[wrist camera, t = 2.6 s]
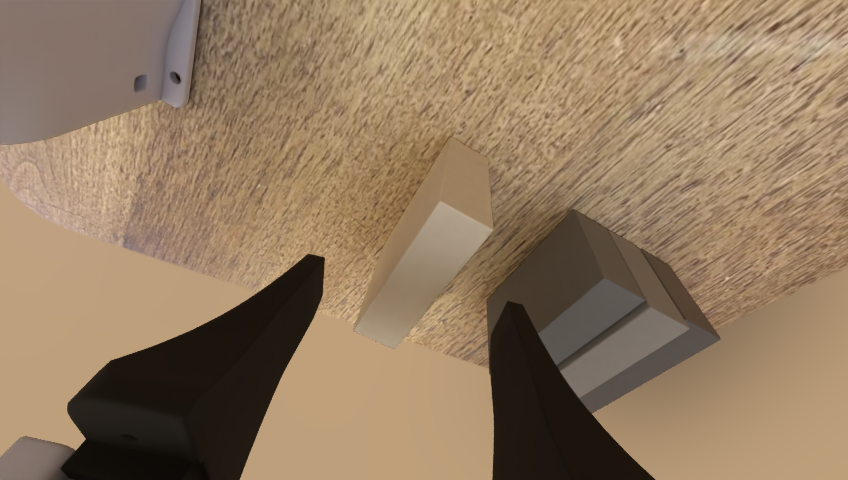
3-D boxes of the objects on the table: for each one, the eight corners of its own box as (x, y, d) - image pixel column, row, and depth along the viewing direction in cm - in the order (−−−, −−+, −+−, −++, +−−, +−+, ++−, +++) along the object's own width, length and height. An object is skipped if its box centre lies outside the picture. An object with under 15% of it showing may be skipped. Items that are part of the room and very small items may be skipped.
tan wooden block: (413, 263, 22) (394, 350, 17) (381, 247, 22) (352, 331, 16) (488, 158, 18) (494, 230, 12) (450, 135, 17) (439, 200, 12)
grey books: (569, 341, 24) (592, 426, 20) (486, 299, 23) (489, 379, 18) (669, 265, 20) (730, 350, 15) (573, 208, 19) (606, 282, 14)
